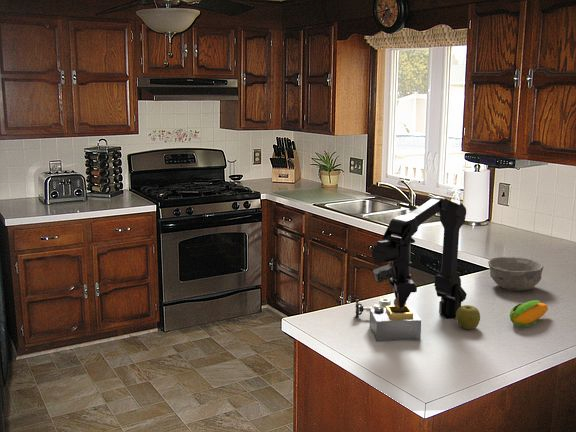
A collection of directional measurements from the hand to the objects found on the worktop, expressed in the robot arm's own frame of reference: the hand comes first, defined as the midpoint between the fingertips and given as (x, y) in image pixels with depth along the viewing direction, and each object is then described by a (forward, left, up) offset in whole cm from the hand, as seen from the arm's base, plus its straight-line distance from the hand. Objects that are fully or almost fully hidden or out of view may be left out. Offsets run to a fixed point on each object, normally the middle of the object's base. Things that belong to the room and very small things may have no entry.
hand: (399, 305), depth 200 cm
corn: (-46, -7, -10) cm, 47 cm away
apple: (-23, -3, -10) cm, 26 cm away
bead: (0, 0, -1) cm, 1 cm away
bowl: (-55, -43, -10) cm, 71 cm away
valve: (+6, -15, -10) cm, 19 cm away
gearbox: (+2, 0, -10) cm, 10 cm away
